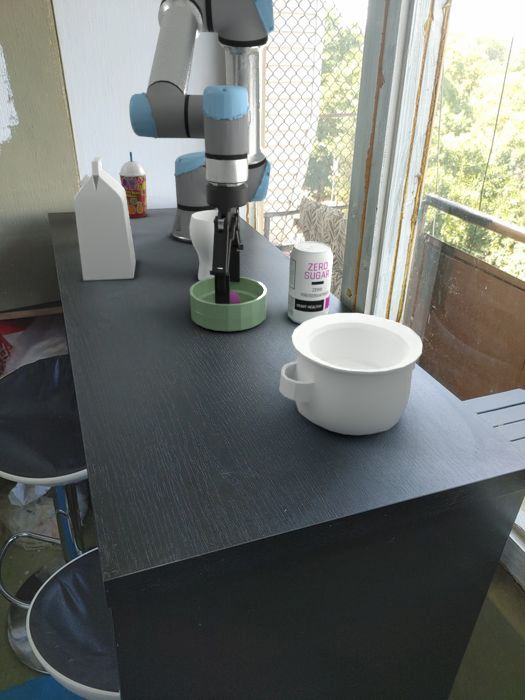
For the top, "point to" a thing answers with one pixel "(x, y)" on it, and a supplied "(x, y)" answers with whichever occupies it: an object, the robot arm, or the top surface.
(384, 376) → the pot
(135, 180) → the smoothie
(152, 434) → the top surface
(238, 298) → the ball
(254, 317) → the bowl
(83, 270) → the milk
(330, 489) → the top surface
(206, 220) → the cup
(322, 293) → the supplement can
